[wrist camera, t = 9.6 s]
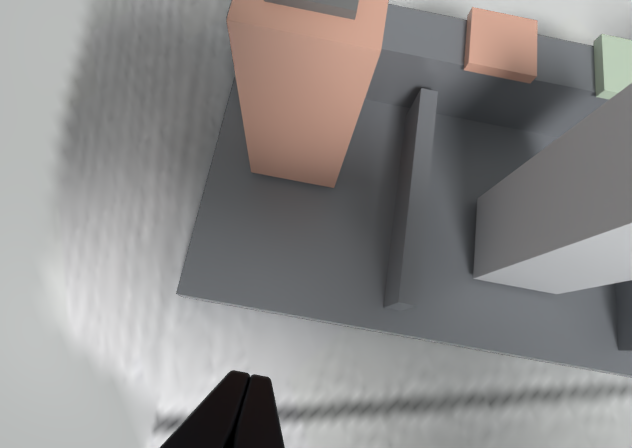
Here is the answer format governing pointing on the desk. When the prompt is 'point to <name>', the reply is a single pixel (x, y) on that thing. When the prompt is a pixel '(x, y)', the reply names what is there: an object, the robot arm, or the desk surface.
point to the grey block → (564, 210)
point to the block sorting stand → (419, 198)
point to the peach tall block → (303, 80)
